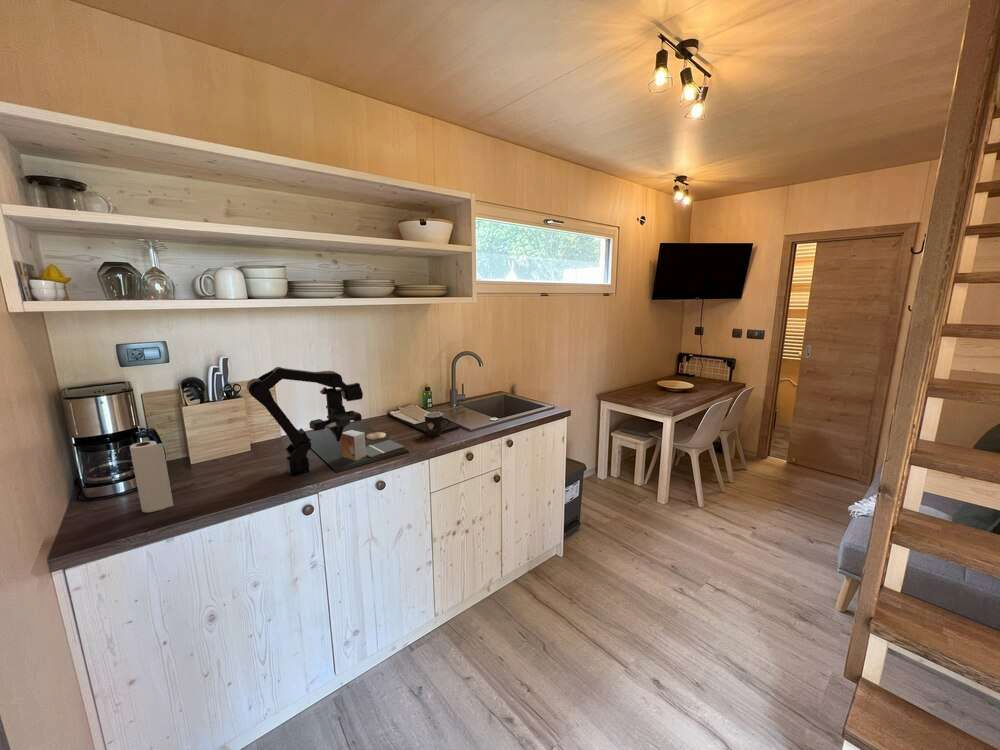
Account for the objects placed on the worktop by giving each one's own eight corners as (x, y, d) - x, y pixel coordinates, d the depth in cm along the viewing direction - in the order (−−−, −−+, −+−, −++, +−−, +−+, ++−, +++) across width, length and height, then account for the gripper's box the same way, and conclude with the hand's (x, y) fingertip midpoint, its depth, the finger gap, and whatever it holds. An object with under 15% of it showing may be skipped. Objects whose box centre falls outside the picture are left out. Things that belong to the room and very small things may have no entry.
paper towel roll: (137, 510, 124) (125, 445, 120) (160, 501, 129) (149, 439, 125) (151, 515, 121) (138, 449, 117) (173, 506, 126) (162, 442, 122)
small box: (342, 457, 165) (340, 433, 163) (353, 452, 169) (351, 429, 167) (355, 461, 161) (353, 436, 159) (366, 456, 166) (364, 432, 163)
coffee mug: (421, 434, 191) (420, 414, 189) (435, 430, 198) (434, 410, 196) (437, 440, 184) (436, 419, 182) (451, 435, 190) (450, 415, 188)
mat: (370, 458, 164) (370, 456, 164) (356, 450, 172) (356, 448, 172) (404, 447, 175) (404, 446, 175) (389, 440, 183) (389, 439, 183)
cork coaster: (371, 441, 183) (371, 440, 183) (362, 436, 189) (362, 435, 189) (389, 436, 189) (389, 435, 189) (379, 431, 195) (379, 430, 195)
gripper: (319, 412, 144) (322, 453, 147) (367, 402, 157) (369, 440, 160) (307, 406, 151) (311, 445, 154) (353, 397, 164) (356, 433, 168)
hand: (338, 441), depth 159 cm, fingers closed
